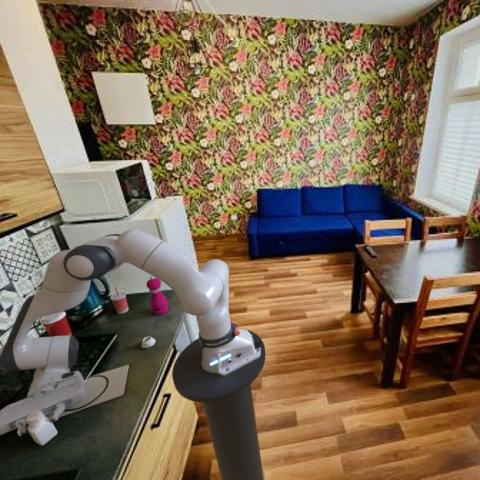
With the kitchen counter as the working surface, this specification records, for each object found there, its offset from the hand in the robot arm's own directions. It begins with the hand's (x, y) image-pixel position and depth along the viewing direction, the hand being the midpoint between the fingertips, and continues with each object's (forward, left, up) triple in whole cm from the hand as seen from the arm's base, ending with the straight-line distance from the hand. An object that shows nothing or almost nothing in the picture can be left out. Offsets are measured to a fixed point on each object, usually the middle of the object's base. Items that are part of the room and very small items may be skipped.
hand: (38, 426), depth 75 cm
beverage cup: (-11, -62, -6) cm, 63 cm away
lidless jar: (-24, -30, -6) cm, 39 cm away
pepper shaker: (0, -1, -6) cm, 6 cm away
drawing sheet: (-8, -14, -6) cm, 17 cm away
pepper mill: (-28, -53, -6) cm, 60 cm away
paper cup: (+8, -48, -6) cm, 49 cm away
